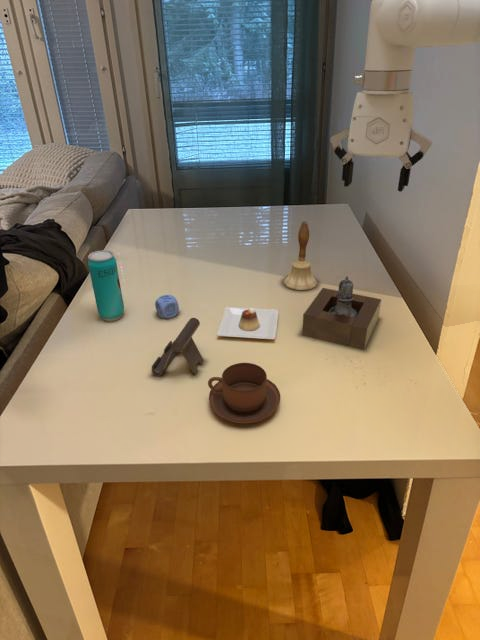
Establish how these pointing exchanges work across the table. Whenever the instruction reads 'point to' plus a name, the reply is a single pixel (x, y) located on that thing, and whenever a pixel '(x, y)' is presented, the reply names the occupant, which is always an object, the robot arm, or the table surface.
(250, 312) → the dessert
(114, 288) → the beverage can
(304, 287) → the hand bell
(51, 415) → the table surface
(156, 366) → the tablet stand
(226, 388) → the cup and saucer
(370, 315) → the holder
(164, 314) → the decorative dice
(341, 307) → the chess piece
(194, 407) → the table surface
